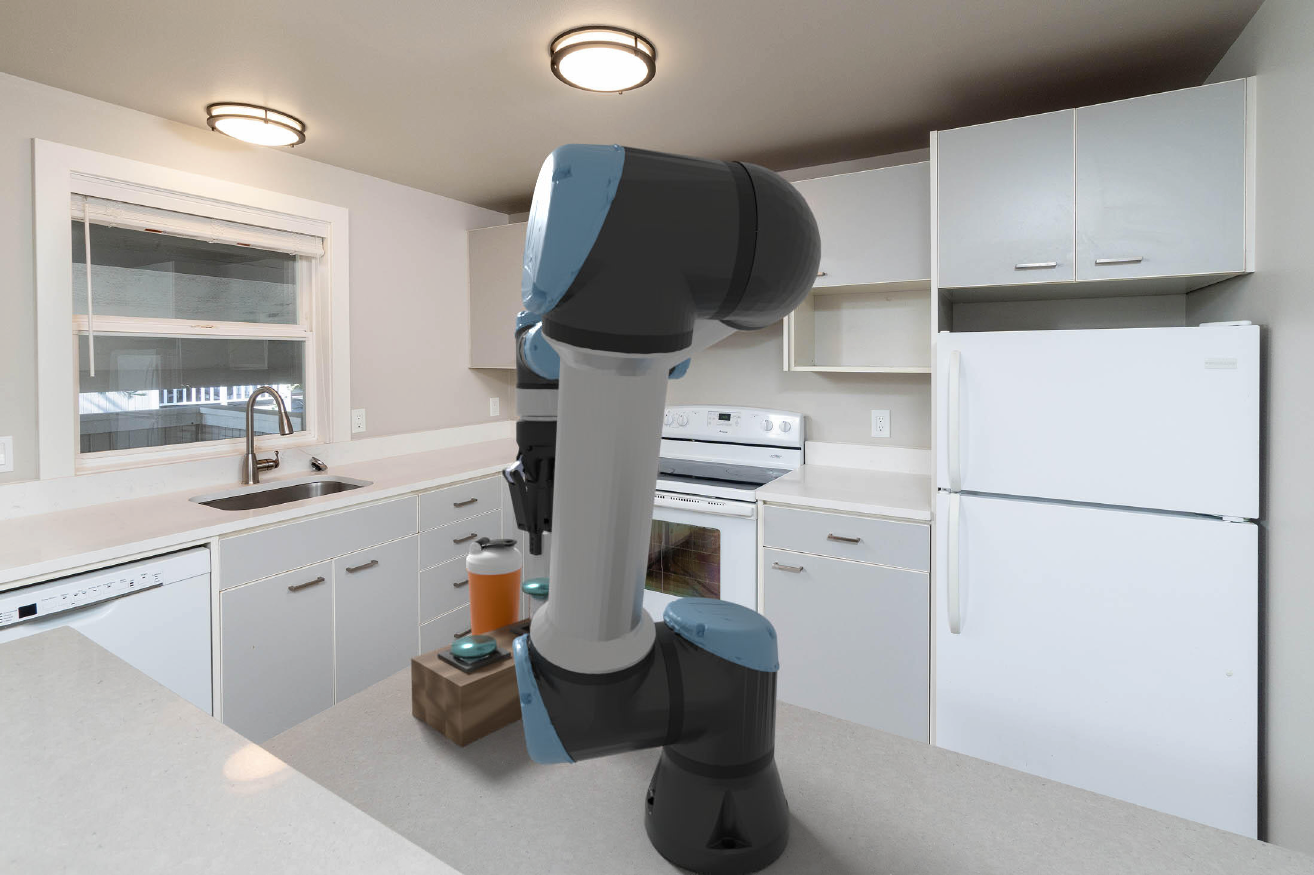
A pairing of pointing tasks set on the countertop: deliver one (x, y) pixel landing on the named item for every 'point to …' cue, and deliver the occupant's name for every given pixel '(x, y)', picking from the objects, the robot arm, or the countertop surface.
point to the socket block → (468, 689)
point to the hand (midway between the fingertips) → (542, 574)
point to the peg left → (473, 647)
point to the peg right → (536, 594)
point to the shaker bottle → (493, 583)
